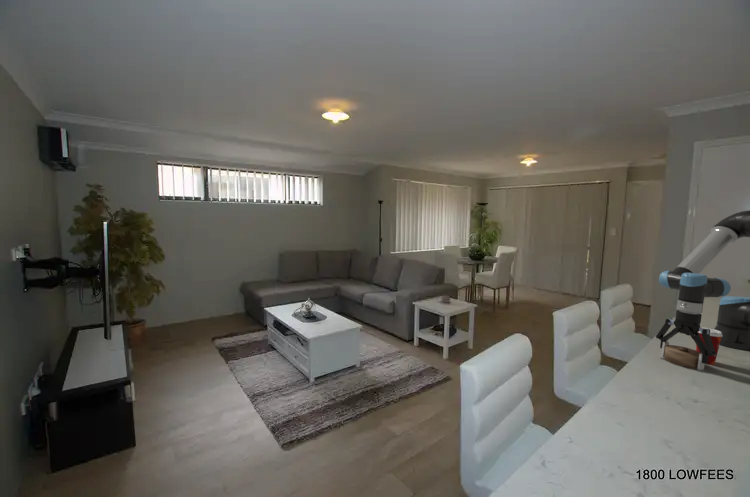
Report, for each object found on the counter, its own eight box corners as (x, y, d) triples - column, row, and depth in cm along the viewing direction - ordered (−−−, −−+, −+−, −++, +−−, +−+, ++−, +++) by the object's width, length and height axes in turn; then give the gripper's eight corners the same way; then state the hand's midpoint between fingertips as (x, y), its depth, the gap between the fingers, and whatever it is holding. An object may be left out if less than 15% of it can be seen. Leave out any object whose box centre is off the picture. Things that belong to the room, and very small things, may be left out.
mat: (675, 357, 143) (675, 355, 143) (704, 367, 133) (704, 366, 133) (659, 359, 139) (659, 358, 139) (688, 370, 130) (688, 369, 130)
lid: (674, 355, 143) (676, 341, 143) (707, 366, 133) (709, 352, 132) (657, 358, 140) (659, 344, 139) (689, 370, 129) (691, 355, 129)
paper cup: (723, 368, 133) (728, 334, 132) (700, 365, 135) (705, 332, 133) (708, 359, 141) (713, 327, 139) (687, 357, 143) (691, 325, 141)
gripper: (649, 303, 144) (643, 352, 146) (722, 321, 121) (713, 378, 124) (661, 303, 146) (654, 350, 149) (734, 320, 124) (725, 376, 126)
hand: (681, 363), depth 136 cm, fingers open, 12 cm apart
